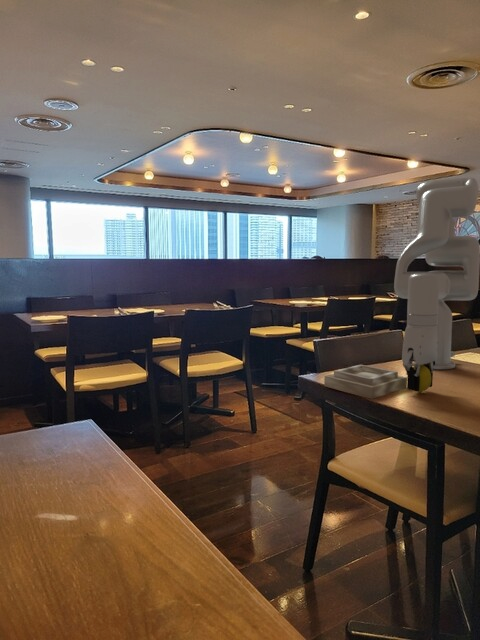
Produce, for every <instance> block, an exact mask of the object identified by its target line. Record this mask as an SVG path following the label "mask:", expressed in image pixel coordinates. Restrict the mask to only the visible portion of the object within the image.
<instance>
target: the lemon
mask: <svg viewBox="0 0 480 640" xmlns="http://www.w3.org/2000/svg"><path fill="white" fill-rule="evenodd" d="M412 367H413V368H414V370H415V368H416V367H415V366H412ZM418 376H420V386H419V391H416V392H417V393H419V394H421V393H423V392H424V391H426V390H428V389H429V388H430V387H429V386H430V384H431V373H430V370H429V369H428V368H427V367H426V366H424V365H420V370H419V374H418Z"/></svg>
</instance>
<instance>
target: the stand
mask: <svg viewBox="0 0 480 640" xmlns="http://www.w3.org/2000/svg"><path fill="white" fill-rule="evenodd" d="M407 377H408V376H404V375H399V372H398V371H395V370H391V369H386V368H381V367H377V366H376V367H375V366H371V365H365V364H357V365H353V366H348V367H345V368H339V369H336V370H333V373H331V374H328V375H324V377H323V378H324V380H323V382H324V387H326V388H330V389H334V390H336V391H341V392H344V393H348V394H352V395H355V396H359V397H364V398H367V399H370V400H371V399H372V400H373V399H375V398H379V397H382V396H386V395H388V394H392V393H394V392H395V393H396V392H398V391H402V390H404V389H407Z"/></svg>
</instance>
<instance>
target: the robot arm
mask: <svg viewBox="0 0 480 640" xmlns="http://www.w3.org/2000/svg"><path fill="white" fill-rule="evenodd" d="M415 191H416V193H415V194H416V200H417V204H418V207H419V208H418V216H417V225H416V235H415V238H414V239H413V240H412V241H411V242H410V243H409V244H408V245H406V247H405V248H404V249H403V250H402V251H401V254H400V255H399V256H398V259H397V262H396V266H395V275H394V282H393V283H394V284H393V288H394V289H393V290H394V293H395V295H396V296H397V297H398V298H401V299H405V300H406V299H407V304H406V305H407V306H406V307H407V308H406V310H407V311H406V313H407V314H406V327H405V330H404V335H403V340H402V341H403V342H402V352H401V360H402V366H403V368H404V369H405V373H406V375H407V376H406V377H407V388H406V389H407V390H409V391H412V392H413V391H414V392H417V391H419V386H420V376H418V374H419V370H420V365H424V366H426V367H427V368H428V369H429V370H430V373H431V384H430V386H429V388H432V387H433V378H434V377H433V375H434V374H433V372H434V370H452V369H454V368H456V363H455V362H454V361H451V358H454V357H455V355H456V353H455V352H454V351H452V331H453V330H452V329H453V312H452V310H451V309H450V307H449V306H448V304H446V302H445V301H472V300H475V299H476V298H477V296H478V292H479V285H480V243H479V240H478V238H477V237H475V236H472V235H456V234H455V228H456V227H455V224H456V223H455V222H456V221H455V218H463V217H470V216H472V215H473V213H474V211H475V210H476V206H477V202H478V197H479V183H478V181H477V180H476V178H473V177H460V178H458V177H457V178H450V179H449V178H447V179H445V178H444V179H436V180H429V181H425V182H422V183H420V184H419V185H418V186H417V187H416V190H415ZM422 255H424V257H425V262H426V264H428V266H433V267H461V268H463V270H431V271H407V270H408V267H409V266H410V264H411V263H412V262H413V261H414V260H416V259H417V258H419V257H421V256H422ZM413 362H414V363H413ZM414 366H415V367H416V368H415V370H414V368H413V367H414Z"/></svg>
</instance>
